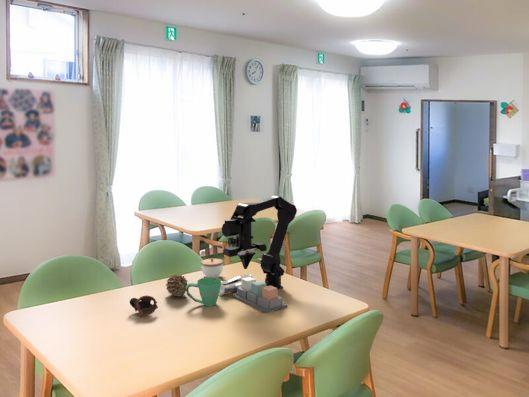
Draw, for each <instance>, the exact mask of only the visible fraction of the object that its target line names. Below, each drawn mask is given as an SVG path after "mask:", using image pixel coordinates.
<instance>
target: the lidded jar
mask: <svg viewBox="0 0 529 397" xmlns="http://www.w3.org/2000/svg"><path fill="white" fill-rule="evenodd" d="M200 264H201V266H200V267H201V272H202V274H203V275H204V276H205V278H207V277H213V279H214V280H215V278H220V276H221V275H222V273H223V269H224V260H223V259H221V258H213V257H211V258H206V259H203V260H201V262H200Z"/></svg>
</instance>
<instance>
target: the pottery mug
mask: <svg viewBox="0 0 529 397" xmlns="http://www.w3.org/2000/svg"><path fill="white" fill-rule="evenodd" d="M152 301H153V304H152V303H151V302H152ZM157 303H158V301H156V298H154V296H152V295H142V296H140V297H139V298H136V297H132V298H130V299H129V304H130V306H131V307H132V308H133V309H134V311H135V312H138V313H137V317H138V318H140V319H141V318H143V317H145V316H148V315H150V314H153V313H154V312H155V311H156V310H157V309H159V307H158V305H157Z"/></svg>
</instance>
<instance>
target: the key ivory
mask: <svg viewBox="0 0 529 397" xmlns="http://www.w3.org/2000/svg"><path fill="white" fill-rule="evenodd" d="M252 277H253V276H252ZM252 277H246V278H242V279H241V288H242V289H244V290H246V291H248V290H251V283H253V282H257V279H256V278H254V277H253V278H252Z"/></svg>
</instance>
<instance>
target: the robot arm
mask: <svg viewBox="0 0 529 397" xmlns="http://www.w3.org/2000/svg"><path fill="white" fill-rule="evenodd" d="M270 208H274V209H275V210H276V211H277V213H276V216H277V224H276V228H275V230H274V232H273V236H272V240H271V243H270V245H269V250H268V251H267V249H268V248H267V244H265V243H263V242H259V241H257V242H253V239H254V235H253V234H252V230H253V229H252V228H253V227H252V223H255V222H256V219H255V218H253V217H255V216H256V215H257V214H258V213H260V212H261V211H265V210H268V209H270ZM297 213H298V210H297V206H296V205H295V204H293V203H291V202H289V201H287V200H286V199H284V197H281V196H279V195H272V196H270V197H266V198H263V199H260V200H257V201H254V202H244V203H243V202H242V203H238V204H236V207H235V210H234V212H233V213H232V215H231V217H230V219H226V220H224V223H223V224H222V226H221V232H222V235H223V236H224V237H225V238H227V244H228V247H224V248H223V250H222V255H224V256H227V257H229V258H231V257H237V256H238V257H239V259H240V262H241V264H242V268H243V269H244V270H247V269H248V267H249V265H250V263H251V261H252V259H253V257H254V255H256V252H255V250H256V251H257V250H258V251H260V252H265V251H266V253H263V254H262V255H261V260H260V267H261V268H260V269H261V270H262V272H263V274H265V278H264V280H265V281H264V283H266V286H270V285H271V286H273V287H276V288H277V290H279V289H282V288H284V286H283V285H282V276H284V274H285V270H284V269H283V268H282V267H281V261H282V260H281V257H280V254H281V251H282V248H283V244H284V241H285V237H286V235H287V231H288V227H289V225H290V224H291V223H292V221H293V220H294V219H295V217H296V216H297ZM233 236H236V237H235V238H234V237H233Z"/></svg>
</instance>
